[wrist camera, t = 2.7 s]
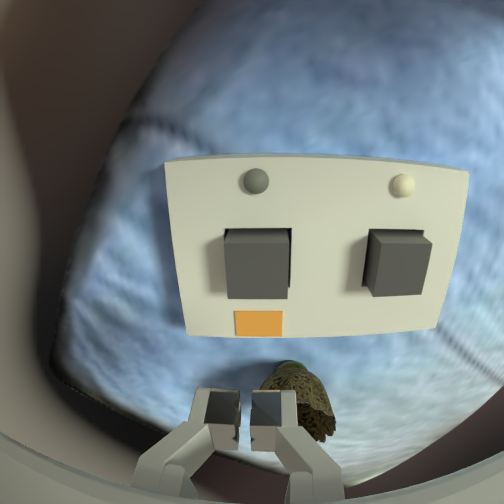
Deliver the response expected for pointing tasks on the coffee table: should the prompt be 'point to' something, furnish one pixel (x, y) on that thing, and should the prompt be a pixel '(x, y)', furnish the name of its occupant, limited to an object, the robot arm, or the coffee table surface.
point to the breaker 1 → (257, 263)
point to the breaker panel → (310, 239)
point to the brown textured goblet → (305, 398)
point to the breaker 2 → (396, 262)
